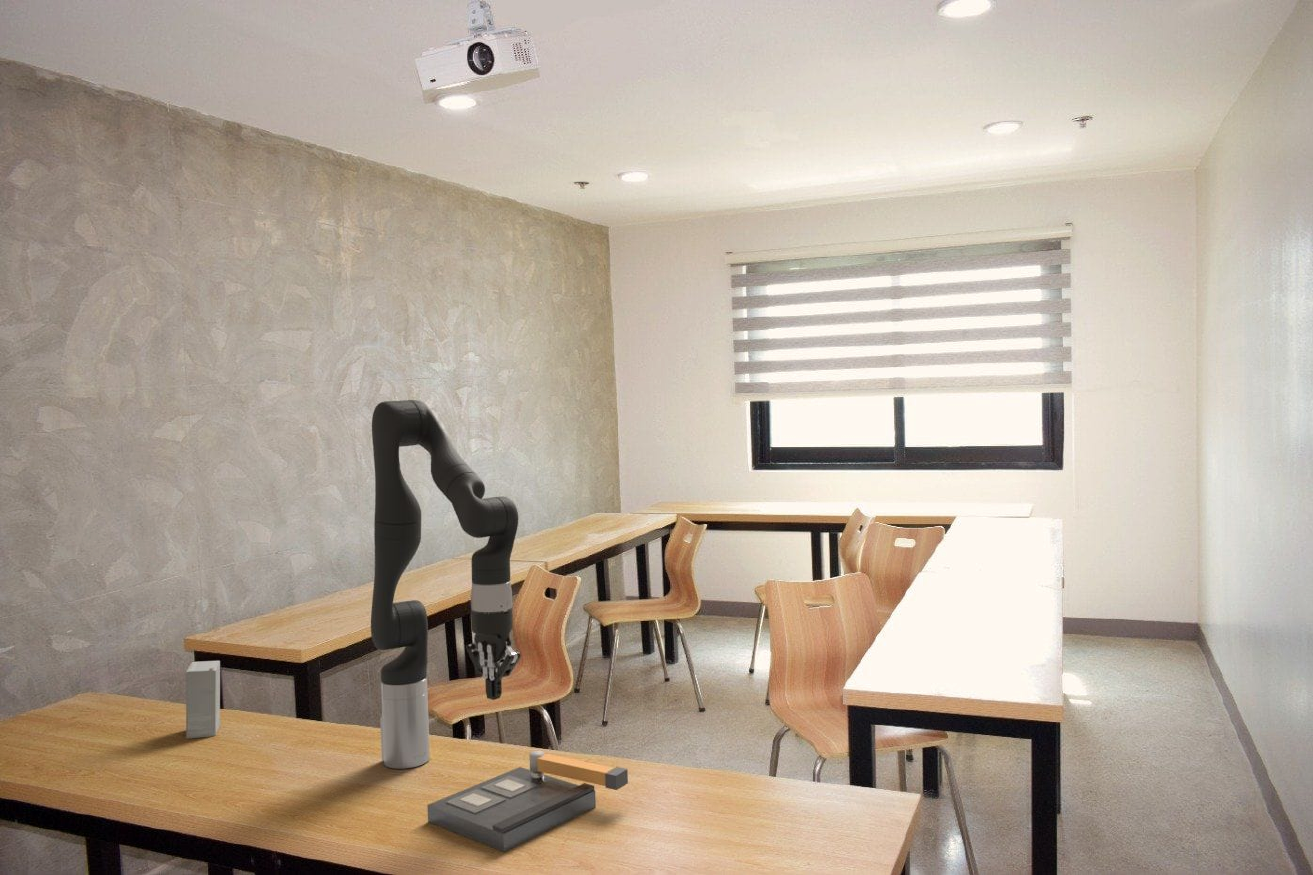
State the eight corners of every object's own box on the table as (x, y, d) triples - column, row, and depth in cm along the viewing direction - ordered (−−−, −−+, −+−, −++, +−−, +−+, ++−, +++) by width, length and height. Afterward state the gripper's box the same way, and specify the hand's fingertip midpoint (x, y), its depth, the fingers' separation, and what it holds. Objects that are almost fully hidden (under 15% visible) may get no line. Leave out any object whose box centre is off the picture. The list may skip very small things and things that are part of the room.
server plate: (427, 821, 171) (427, 799, 171) (521, 781, 188) (520, 762, 188) (503, 852, 159) (503, 828, 158) (596, 806, 176) (595, 785, 176)
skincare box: (190, 728, 227) (187, 661, 226) (224, 724, 229) (221, 658, 229) (184, 740, 219) (181, 670, 218) (219, 736, 221) (216, 667, 221)
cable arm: (616, 791, 172) (616, 774, 172) (525, 770, 183) (525, 755, 183) (627, 784, 175) (627, 767, 175) (537, 764, 186) (537, 749, 186)
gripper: (452, 604, 180) (454, 696, 180) (500, 614, 171) (502, 710, 172) (483, 597, 185) (485, 686, 186) (531, 606, 177) (533, 699, 178)
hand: (493, 698), depth 179 cm, fingers closed
